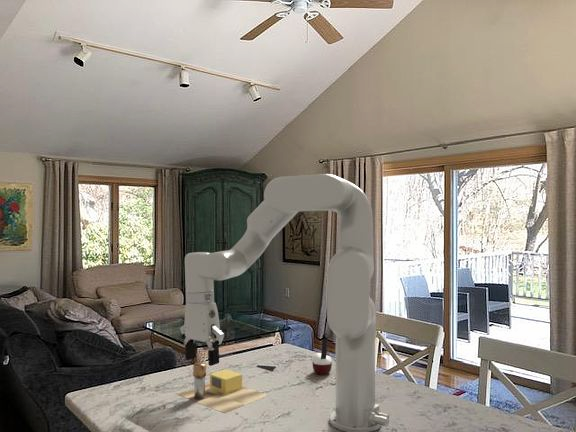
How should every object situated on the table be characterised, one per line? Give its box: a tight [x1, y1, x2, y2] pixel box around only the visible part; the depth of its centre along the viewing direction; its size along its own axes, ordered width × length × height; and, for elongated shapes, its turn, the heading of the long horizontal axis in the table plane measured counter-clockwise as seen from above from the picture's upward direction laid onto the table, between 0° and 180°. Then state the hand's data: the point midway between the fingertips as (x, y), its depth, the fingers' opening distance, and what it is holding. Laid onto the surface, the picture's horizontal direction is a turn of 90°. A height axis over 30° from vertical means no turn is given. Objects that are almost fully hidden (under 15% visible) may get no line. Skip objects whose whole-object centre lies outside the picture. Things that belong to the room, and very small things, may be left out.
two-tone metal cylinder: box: [192, 361, 207, 400], centre depth 126 cm, size 3×3×9 cm
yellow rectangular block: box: [209, 369, 243, 394], centre depth 133 cm, size 7×6×4 cm
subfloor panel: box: [176, 382, 269, 414], centre depth 128 cm, size 20×16×1 cm
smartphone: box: [255, 363, 279, 373], centre depth 150 cm, size 7×15×1 cm, turn 167°
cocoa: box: [311, 338, 333, 376], centre depth 149 cm, size 10×6×12 cm, turn 168°
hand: (202, 361), depth 126 cm, fingers open, 9 cm apart
